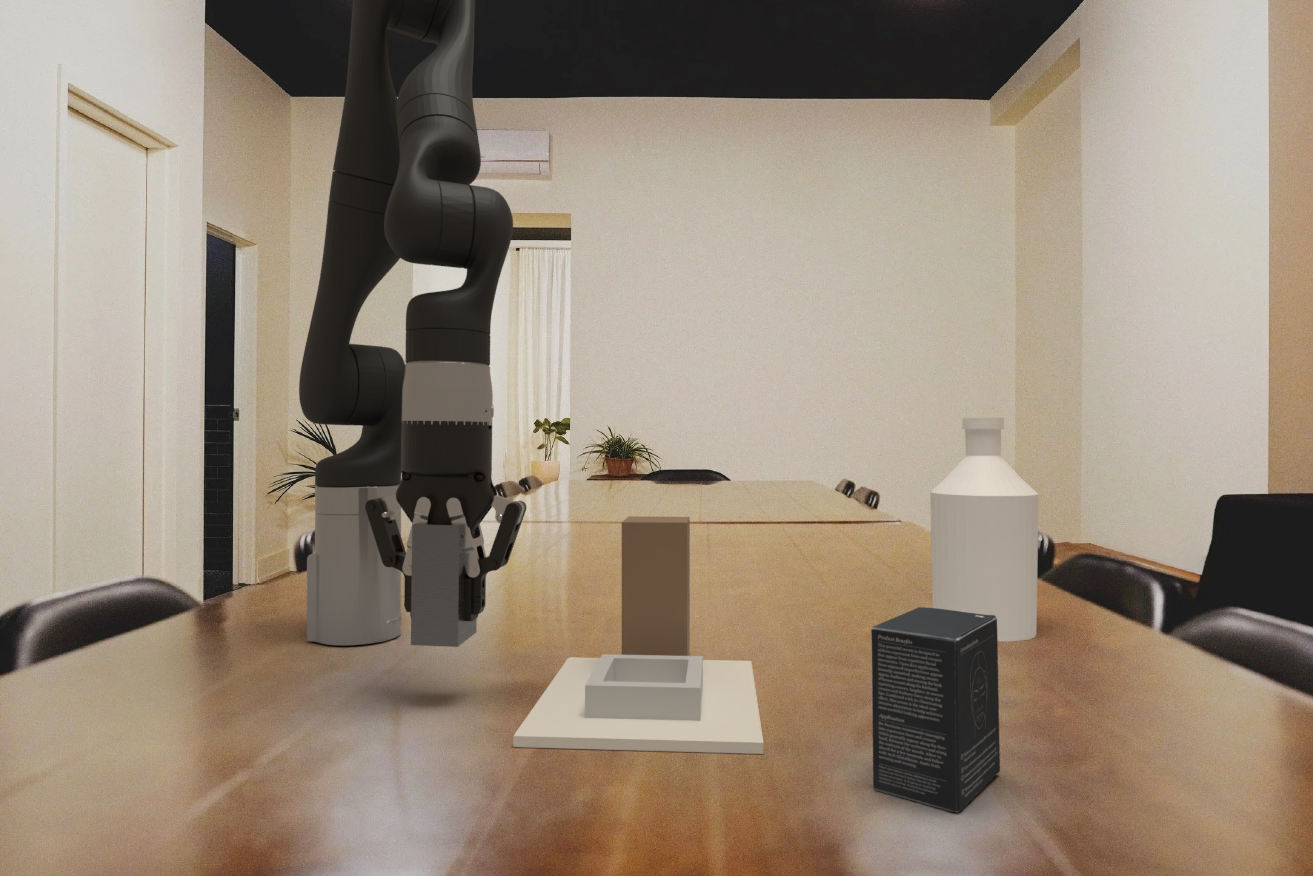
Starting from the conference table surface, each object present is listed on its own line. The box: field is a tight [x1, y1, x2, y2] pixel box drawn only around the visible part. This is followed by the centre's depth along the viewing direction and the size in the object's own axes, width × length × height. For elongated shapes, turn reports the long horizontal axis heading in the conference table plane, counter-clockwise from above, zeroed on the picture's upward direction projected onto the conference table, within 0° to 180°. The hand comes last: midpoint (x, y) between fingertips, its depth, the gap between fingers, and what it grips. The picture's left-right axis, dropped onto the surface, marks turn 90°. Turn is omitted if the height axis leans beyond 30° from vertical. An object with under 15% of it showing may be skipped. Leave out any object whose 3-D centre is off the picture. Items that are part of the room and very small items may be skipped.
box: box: [870, 606, 1001, 813], centre depth 53 cm, size 8×6×11 cm
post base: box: [512, 515, 764, 755], centre depth 70 cm, size 18×22×15 cm
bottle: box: [929, 417, 1040, 643], centre depth 97 cm, size 12×12×25 cm
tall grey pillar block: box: [410, 523, 478, 648], centre depth 70 cm, size 4×5×10 cm
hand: (445, 617), depth 70 cm, fingers closed on tall grey pillar block, 4 cm apart
